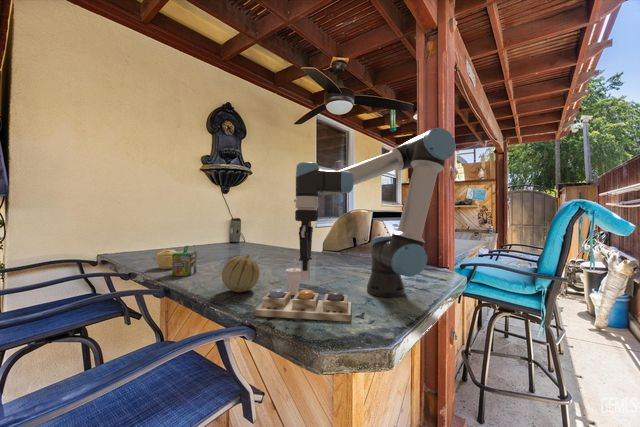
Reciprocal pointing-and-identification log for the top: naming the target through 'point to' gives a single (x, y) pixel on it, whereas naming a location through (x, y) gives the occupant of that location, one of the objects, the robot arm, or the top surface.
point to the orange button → (306, 294)
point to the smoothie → (293, 279)
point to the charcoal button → (335, 296)
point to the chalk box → (184, 263)
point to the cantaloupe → (240, 274)
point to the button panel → (305, 308)
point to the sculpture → (165, 259)
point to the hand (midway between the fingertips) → (305, 279)
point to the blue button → (277, 293)
